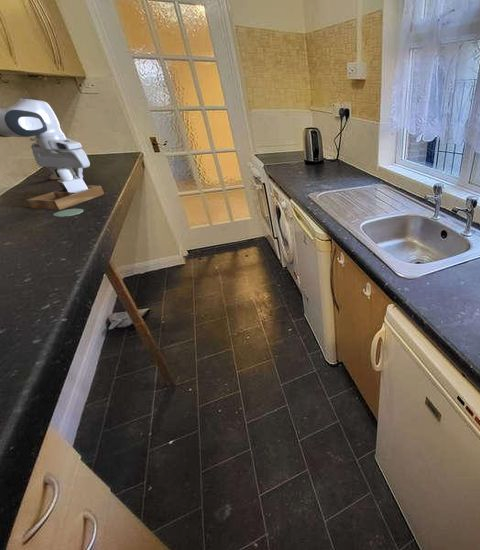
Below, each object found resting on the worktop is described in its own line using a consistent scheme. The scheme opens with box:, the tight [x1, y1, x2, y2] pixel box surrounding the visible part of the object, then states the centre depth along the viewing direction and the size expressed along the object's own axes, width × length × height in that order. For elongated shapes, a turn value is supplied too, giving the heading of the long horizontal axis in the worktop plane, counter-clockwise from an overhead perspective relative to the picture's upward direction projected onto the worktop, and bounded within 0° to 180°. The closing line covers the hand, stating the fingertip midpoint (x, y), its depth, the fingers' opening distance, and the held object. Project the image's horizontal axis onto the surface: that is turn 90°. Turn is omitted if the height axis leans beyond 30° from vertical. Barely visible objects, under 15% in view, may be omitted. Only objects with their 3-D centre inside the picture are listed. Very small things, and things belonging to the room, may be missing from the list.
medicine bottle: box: [55, 167, 88, 192], centre depth 130 cm, size 7×7×12 cm
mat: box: [52, 208, 84, 218], centre depth 117 cm, size 9×9×1 cm
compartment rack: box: [25, 184, 105, 211], centre depth 128 cm, size 12×23×4 cm, turn 178°
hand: (70, 177), depth 129 cm, fingers closed on medicine bottle, 7 cm apart
